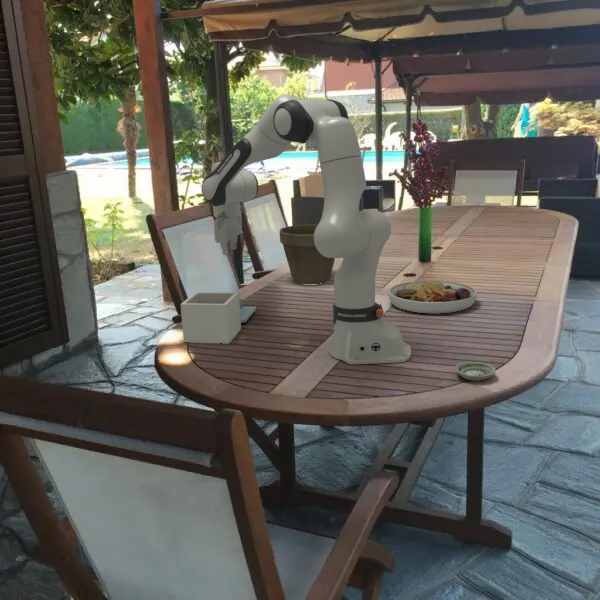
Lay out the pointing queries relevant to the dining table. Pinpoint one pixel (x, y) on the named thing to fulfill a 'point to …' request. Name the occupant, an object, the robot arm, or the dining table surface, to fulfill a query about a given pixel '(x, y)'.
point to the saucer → (475, 370)
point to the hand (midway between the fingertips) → (230, 251)
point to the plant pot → (305, 255)
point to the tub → (211, 317)
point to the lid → (245, 311)
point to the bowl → (432, 296)
